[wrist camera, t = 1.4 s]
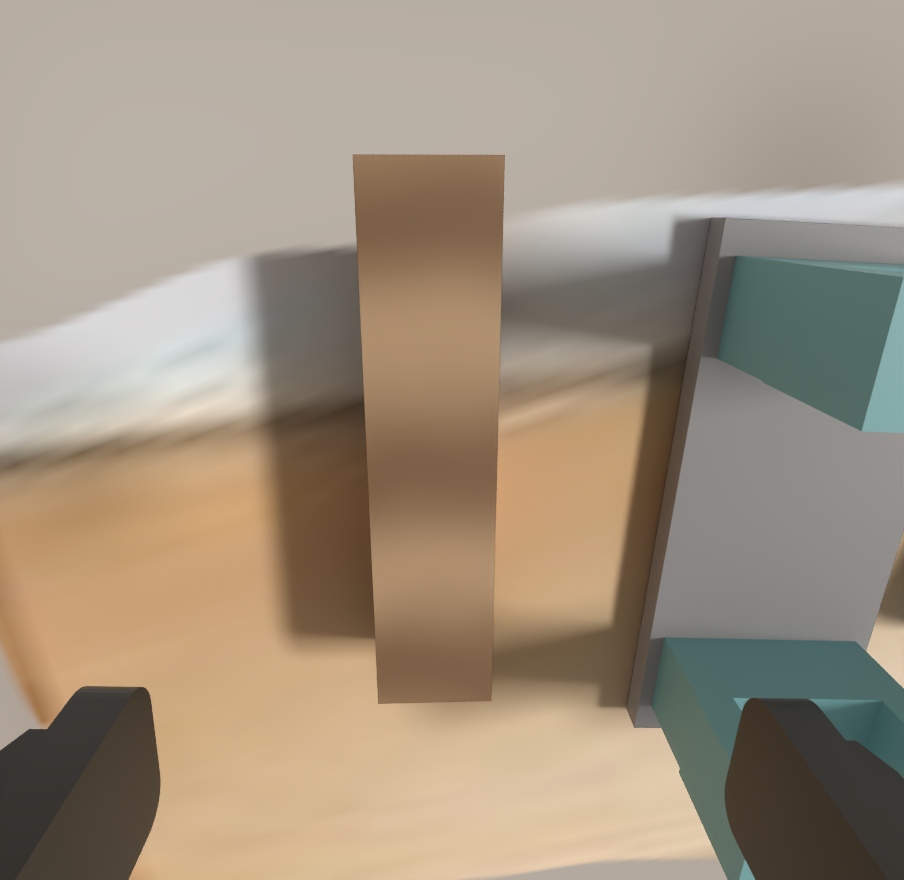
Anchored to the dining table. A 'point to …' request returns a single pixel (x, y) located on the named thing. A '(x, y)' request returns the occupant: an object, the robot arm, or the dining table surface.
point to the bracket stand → (778, 500)
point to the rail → (431, 415)
